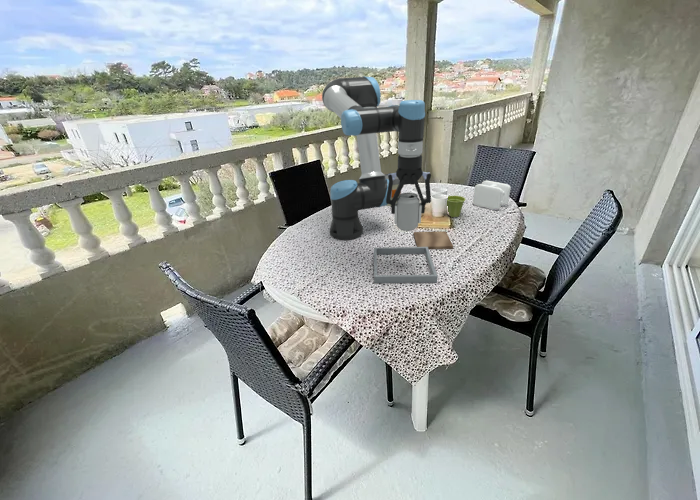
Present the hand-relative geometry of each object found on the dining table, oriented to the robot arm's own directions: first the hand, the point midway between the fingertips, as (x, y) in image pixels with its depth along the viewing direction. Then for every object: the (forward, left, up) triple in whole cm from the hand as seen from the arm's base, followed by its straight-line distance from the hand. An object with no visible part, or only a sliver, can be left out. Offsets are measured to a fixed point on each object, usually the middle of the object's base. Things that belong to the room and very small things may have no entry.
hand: (407, 221), depth 109 cm
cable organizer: (+49, +58, -17) cm, 78 cm away
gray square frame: (-1, -2, -17) cm, 17 cm away
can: (0, 0, -2) cm, 2 cm away
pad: (+13, +18, -17) cm, 28 cm away
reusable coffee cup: (-2, +66, -17) cm, 68 cm away
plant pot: (+28, +46, -17) cm, 56 cm away
